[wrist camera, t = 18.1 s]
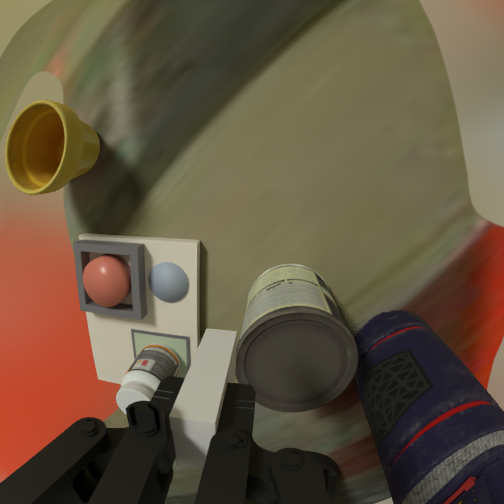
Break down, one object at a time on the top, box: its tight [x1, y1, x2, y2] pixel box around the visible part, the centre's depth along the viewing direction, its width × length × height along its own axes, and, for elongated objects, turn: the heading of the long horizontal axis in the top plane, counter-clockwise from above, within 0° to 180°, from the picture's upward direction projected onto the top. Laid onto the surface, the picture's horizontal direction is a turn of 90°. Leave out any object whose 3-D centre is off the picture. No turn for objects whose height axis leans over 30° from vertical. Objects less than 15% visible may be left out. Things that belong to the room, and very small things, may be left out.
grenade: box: [353, 310, 504, 504], centre depth 24 cm, size 14×12×30 cm
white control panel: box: [74, 233, 200, 384], centre depth 39 cm, size 22×16×4 cm
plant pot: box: [5, 100, 100, 195], centre depth 31 cm, size 10×10×10 cm
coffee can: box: [235, 264, 358, 412], centre depth 32 cm, size 10×10×14 cm
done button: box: [83, 254, 132, 307], centre depth 36 cm, size 6×6×2 cm
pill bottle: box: [116, 343, 180, 415], centre depth 35 cm, size 6×6×10 cm
